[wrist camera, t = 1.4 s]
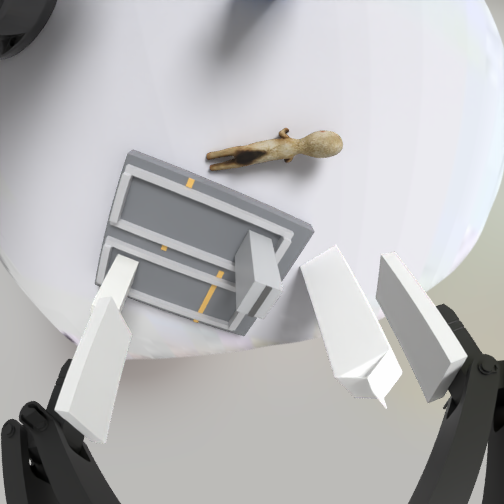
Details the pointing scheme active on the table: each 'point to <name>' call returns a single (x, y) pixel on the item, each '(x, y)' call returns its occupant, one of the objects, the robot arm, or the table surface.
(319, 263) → the milk
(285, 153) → the figurine
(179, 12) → the table surface
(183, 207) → the grey flat tray
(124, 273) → the block
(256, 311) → the fader
